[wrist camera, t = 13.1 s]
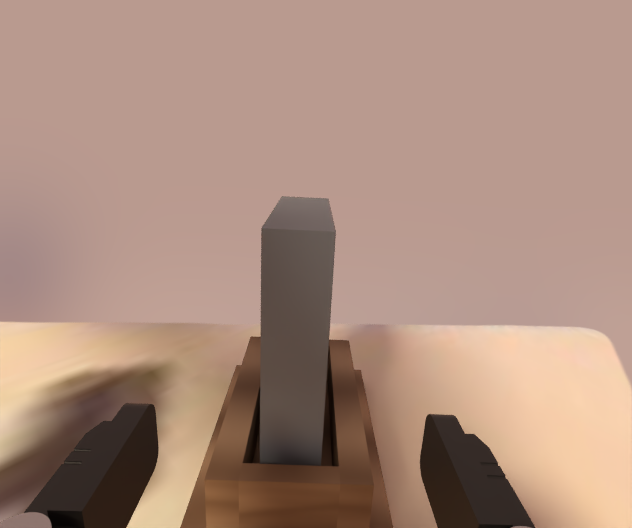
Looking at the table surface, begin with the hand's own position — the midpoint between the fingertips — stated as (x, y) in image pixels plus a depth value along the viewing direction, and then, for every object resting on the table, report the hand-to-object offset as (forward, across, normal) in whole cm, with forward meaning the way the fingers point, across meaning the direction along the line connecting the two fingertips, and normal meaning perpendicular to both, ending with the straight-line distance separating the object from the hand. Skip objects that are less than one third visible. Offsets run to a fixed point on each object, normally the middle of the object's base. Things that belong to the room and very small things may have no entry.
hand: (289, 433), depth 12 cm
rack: (+11, 0, +10) cm, 15 cm away
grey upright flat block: (+11, 0, +9) cm, 14 cm away
